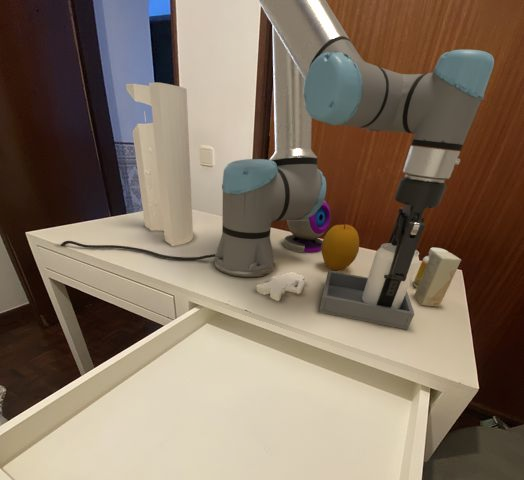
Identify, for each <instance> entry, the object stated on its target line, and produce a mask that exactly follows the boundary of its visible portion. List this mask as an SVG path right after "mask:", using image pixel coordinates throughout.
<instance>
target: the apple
mask: <svg viewBox="0 0 524 480" xmlns="http://www.w3.org/2000/svg"><path fill="white" fill-rule="evenodd" d="M320 251H321V256H322V259H323V261H324V264H325V266H326V267H327V268H329V270H332V271H334V272H342V271H344V270H346V268H348V267H349V266H350V265H351V264H352V263H353V262H354V261H355V260H356V258H357V256H358V254H359V251H360V236H359V233H358V231H357V229H356V228H355V227H353V226H352V225H350V224H346V223H344V224H336V225H333V226H332V227H331V228H330V229H329V230H328V231H327V232H326V234H325V235H324V236H323V239H322V248H321V250H320Z"/></svg>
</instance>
